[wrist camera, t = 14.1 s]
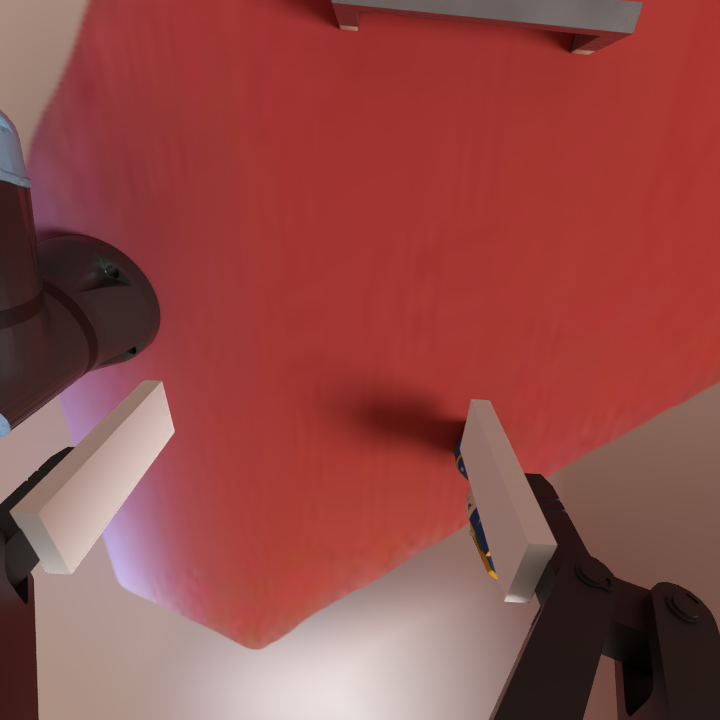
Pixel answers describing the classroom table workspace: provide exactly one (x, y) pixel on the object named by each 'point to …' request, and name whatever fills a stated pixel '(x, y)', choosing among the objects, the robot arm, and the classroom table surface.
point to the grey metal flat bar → (514, 15)
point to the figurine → (474, 517)
